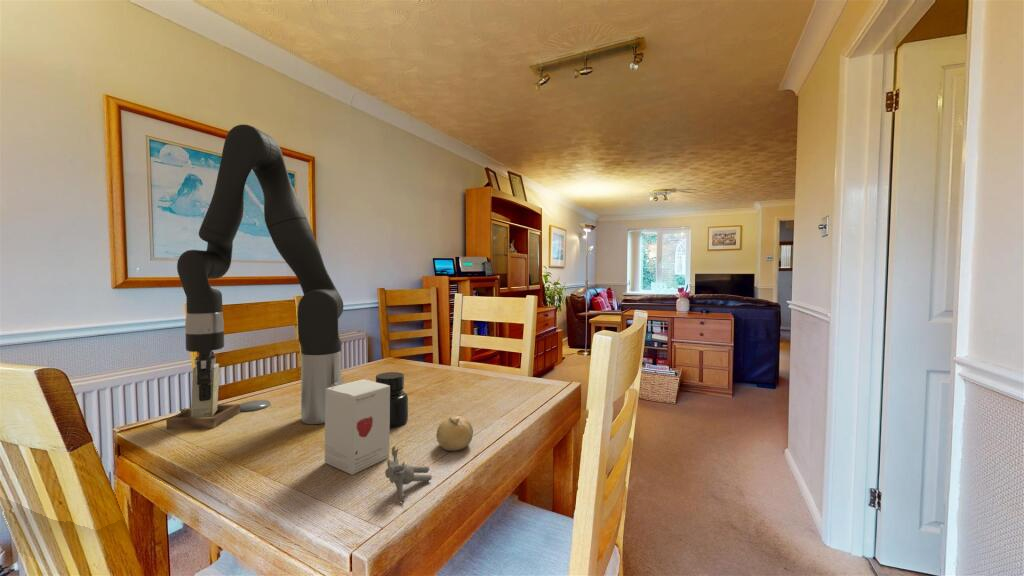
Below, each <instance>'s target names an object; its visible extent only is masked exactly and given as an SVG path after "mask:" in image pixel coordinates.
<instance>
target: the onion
mask: <svg viewBox="0 0 1024 576" xmlns="http://www.w3.org/2000/svg"><path fill="white" fill-rule="evenodd" d="M436 429H437V430H436V432H435V433H436V435H435V436H436V442H438V445H439V446H440V447H441V448H442V449H444V450H445V451H459V450H463V449H465V448H466V447H468V446H469V445H470V443H471V442H472V439H473V437H474V435H473V434H474V429H473V426H472V423H471V422H470V421H469V420H468V419H466V418H464V417H463V416H460V415H456V416H449V417H447V418H446V419H444V420H442V421H441V423H440V424H439V426H438V427H437V428H436Z"/></svg>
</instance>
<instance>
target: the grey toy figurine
mask: <svg viewBox="0 0 1024 576" xmlns="http://www.w3.org/2000/svg"><path fill="white" fill-rule="evenodd" d="M398 451H399V448H396V446H395V445H394V446H392V448H391V455H392V457H393V461H392V460H391V459H390V458H387V461H386V463H387V469H385V471H384V474H385V477H386V478H387V479H389V481H390V483H391V484H393V483H394V484H395V487H396V490H397V491H398V500H399V502H402V503H403V504H404V503H405V497H407V494H405V493H404V491H403V490H404V486H403V485H409V484H410V483H412V482H425V481H429V480H430V481H431V480H432V479H433V475H432V474H427V473H428V472H429V471H430V466H429V465H425V466H416V465H415V466H412V465H409V464H405V461H404V460H403V462H402V463H399V460H398ZM430 481H429V482H430Z"/></svg>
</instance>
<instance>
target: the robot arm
mask: <svg viewBox="0 0 1024 576" xmlns="http://www.w3.org/2000/svg"><path fill="white" fill-rule="evenodd" d="M218 168H219V169H218V172H217V176H216V177H217V178H216V181H215V186H214V190H213V195H212V198H211V200H210V203H209V205H208V208H207V211H206V213H205V215H204V217H203V220H202V222H201V225H200V227H199V230H198V236H199V238H200V239H201V240H202V241H204V242H206V243H207V244H206V245H207V246H206V250H200V249H189V250H186V251H184V252H182V253H181V254H180V256H179V257H178V260H177V264H176V270H177V274H178V277H179V281H180V283H181V286H182V289H183V291H184V294H185V296H186V299H185V300H186V304H185V305H186V306H185V307H186V316H185V323H184V325H185V351H187V352H191V353H194V352H195V353H196V352H197V353H198V356H195V358H194V366H195V367H196V376H197V385H198V386H199V400H200V401H207V400H210V399H211V383H212V381H211V376H212V375H213V374H214V369H211V371H210V367H211V368H214V365H215V364H216V362H217V361H216V360H217V355H215V353H214V351H217V350H221V349H223V348H224V347H225V321H224V315H223V293H222V292H221V291H220V290H219V289H216V288H212V286H211V283H210V281H209V280H215V279H219V278H222V277H223V276H224V275H226V274H227V272H228V271H229V269H230V267H231V264H232V257H233V246H234V245H233V244H234V239H235V237H236V235H237V232H238V231H239V228H240V225H241V223H242V220H243V216H244V209H245V208H244V207H245V206H244V203H245V202H244V199H245V198H244V196H245V194H244V193H245V188H246V187H245V186H246V183H247V180H248V177H249V175H250V173H251V172H252V171H253V173H254V174H255V178H257V180H258V183H259V185H260V188H261V190H262V192H263V198H264V199H263V213H264V214H263V215H264V222H265V226H266V228H267V230H268V231H267V232H268V234H269V235H270V238H271V240H272V242H273V244H274V246H275V248H276V250H277V251H278V253H279V255H280V256H281V258H282V259H283V260H284V261H285V263H286V264H287V266H288V267H289V269H291V271H292V272H293V273H294V275H295V276H296V278H297V280H298V282H299V284H300V287H301V291H302V293H303V295H302V297H301V298H300V300H299V303H298V306H297V334H298V342H299V345H300V349H301V350H300V354H301V355H300V358H301V359H300V360H301V361H300V362H301V363H300V364H301V365H300V369H301V370H300V371H301V374H300V375H301V377H300V379H301V380H300V382H301V383H300V387H301V390H300V391H301V393H300V394H301V395H300V397H301V402H300V404H301V406H300V407H301V409H300V415H301V420H300V421H301V423H303V424H308V425H319V424H325V389H326V388H330V387H334V386H338V385H342V384H345V379H344V378H343V377H342V340H341V339H340V335H339V318H340V317H341V315H342V314H343V311H344V301H343V299H342V296H341V295H340V293H339V291H338V289H337V287H336V286H335V284H334V282H333V280H332V278H331V277H330V275H329V273H328V270H327V269H326V266H325V263H324V260H323V258H322V254H321V251H320V249H319V246H318V243H317V241H316V239H315V238H316V237H315V236H314V232H313V230H312V228H311V225H310V223H309V221H308V218H307V216H306V213H305V212H304V210H303V208H302V205H301V203H300V200H299V198H298V196H297V194H296V191H295V189H294V187H293V184H292V181H291V177H290V175H289V172H288V168H287V165H286V163H285V158H284V155H283V152H282V149H281V147H280V145H279V143H278V142H277V141H276V140H275V139H274V138H273V137H272V136H270V135H269V134H267V133H265V132H263V131H262V130H260V129H259V128H257V127H255V126H251V125H249V124H238V125H235V126H233V127H232V128H231V129H230V130H229V131H228V133H227V135H226V137H225V140H224V143H223V147H222V153H221V159H220V163H219V167H218ZM202 376H208V379H203V380H201V377H202Z"/></svg>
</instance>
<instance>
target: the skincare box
mask: <svg viewBox="0 0 1024 576" xmlns="http://www.w3.org/2000/svg"><path fill="white" fill-rule="evenodd" d="M211 369H214V374H213V375H212V376H211V381H212V383H211V399H210V400H207V401H200V400H199V386H198V385H197V376H196V366H195V367H193V368H192V382H191V384H192V385H191V386H192V387H191V407H190V408H191V417H213V416H215V415H214V413H215V412H216V411H217V406H218V404H219V381H220V379H219V377H220V376H219V375H220V363H215V365H214V368H211V367H210V371H211ZM203 379H208V376H202V377H201V380H203Z"/></svg>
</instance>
